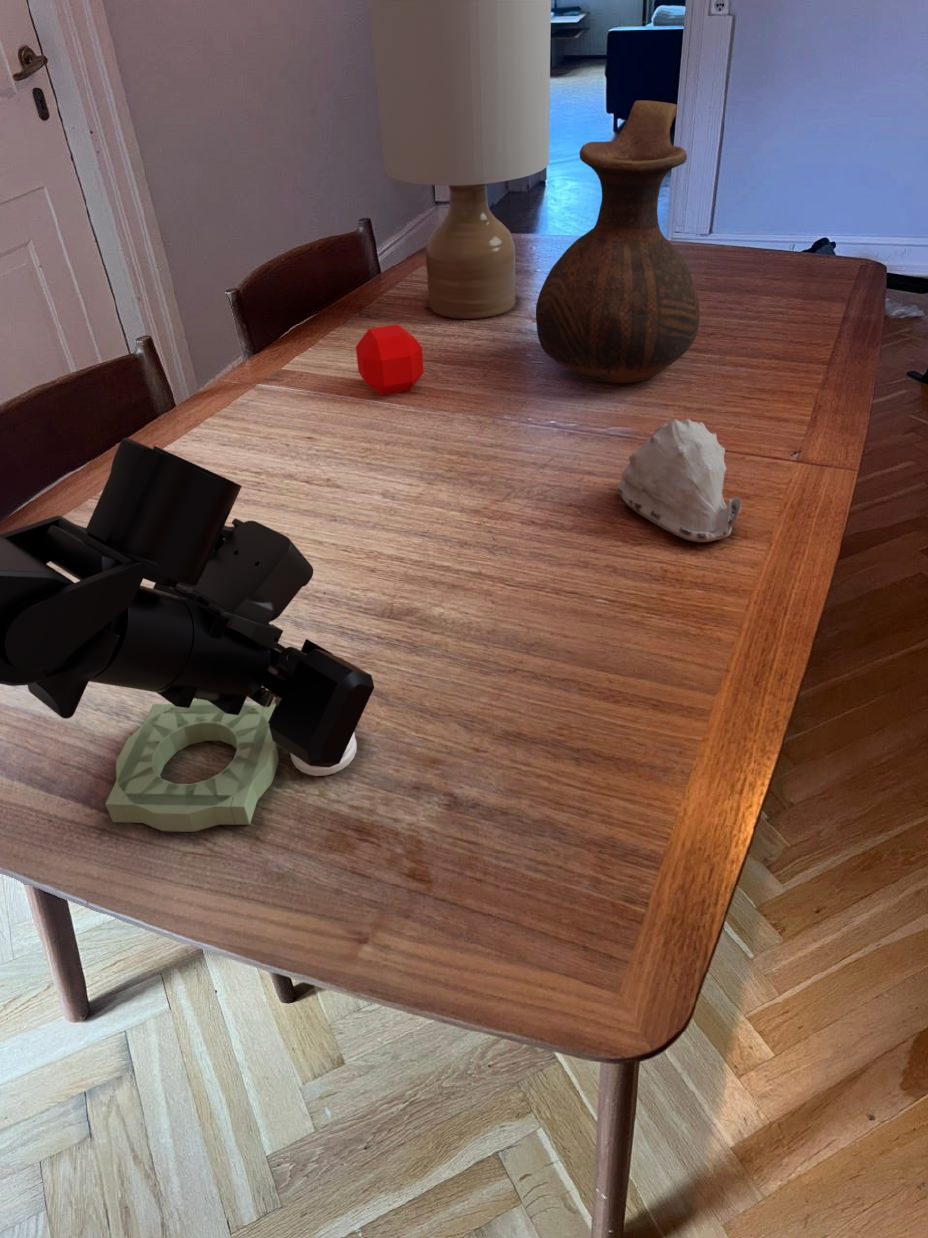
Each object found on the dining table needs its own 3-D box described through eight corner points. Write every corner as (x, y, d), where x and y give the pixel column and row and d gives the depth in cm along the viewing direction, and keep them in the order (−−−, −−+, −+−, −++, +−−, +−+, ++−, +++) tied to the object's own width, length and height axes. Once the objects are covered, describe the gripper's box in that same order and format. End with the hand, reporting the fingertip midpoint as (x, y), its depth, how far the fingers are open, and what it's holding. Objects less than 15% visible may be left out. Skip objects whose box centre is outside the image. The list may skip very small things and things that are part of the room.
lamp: (385, 290, 150) (355, -15, 123) (521, 272, 153) (520, -26, 127) (413, 341, 131) (385, -4, 105) (567, 320, 135) (577, -18, 109)
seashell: (711, 557, 85) (726, 465, 79) (598, 506, 93) (603, 418, 87) (779, 507, 91) (798, 418, 85) (668, 463, 99) (677, 379, 93)
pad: (99, 830, 63) (91, 812, 61) (153, 715, 71) (147, 697, 70) (257, 833, 62) (251, 815, 60) (292, 717, 71) (287, 699, 69)
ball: (413, 370, 123) (408, 316, 118) (429, 393, 117) (425, 337, 112) (357, 380, 121) (350, 325, 116) (370, 404, 115) (364, 347, 110)
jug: (729, 375, 117) (768, 118, 98) (590, 413, 110) (603, 144, 91) (634, 324, 132) (651, 94, 114) (507, 354, 126) (504, 115, 107)
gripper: (328, 569, 46) (471, 626, 59) (122, 467, 55) (285, 536, 69) (239, 764, 46) (402, 777, 59) (50, 629, 56) (226, 666, 69)
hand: (325, 679), depth 64 cm, fingers open, 4 cm apart
